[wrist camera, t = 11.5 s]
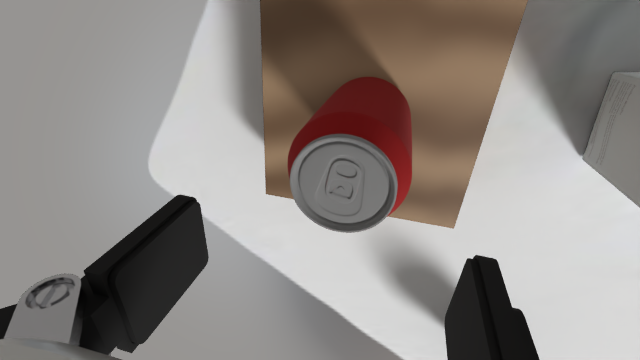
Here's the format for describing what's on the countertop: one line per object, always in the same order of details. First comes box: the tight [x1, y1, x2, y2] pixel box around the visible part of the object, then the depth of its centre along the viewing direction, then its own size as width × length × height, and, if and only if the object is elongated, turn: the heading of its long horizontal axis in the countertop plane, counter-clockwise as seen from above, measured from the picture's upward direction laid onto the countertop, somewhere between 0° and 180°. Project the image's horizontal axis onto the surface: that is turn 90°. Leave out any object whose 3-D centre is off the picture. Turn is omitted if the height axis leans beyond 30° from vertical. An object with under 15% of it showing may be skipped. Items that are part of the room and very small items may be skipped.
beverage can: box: [287, 77, 412, 233], centre depth 21 cm, size 7×7×12 cm
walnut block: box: [260, 0, 528, 228], centre depth 29 cm, size 18×18×7 cm
